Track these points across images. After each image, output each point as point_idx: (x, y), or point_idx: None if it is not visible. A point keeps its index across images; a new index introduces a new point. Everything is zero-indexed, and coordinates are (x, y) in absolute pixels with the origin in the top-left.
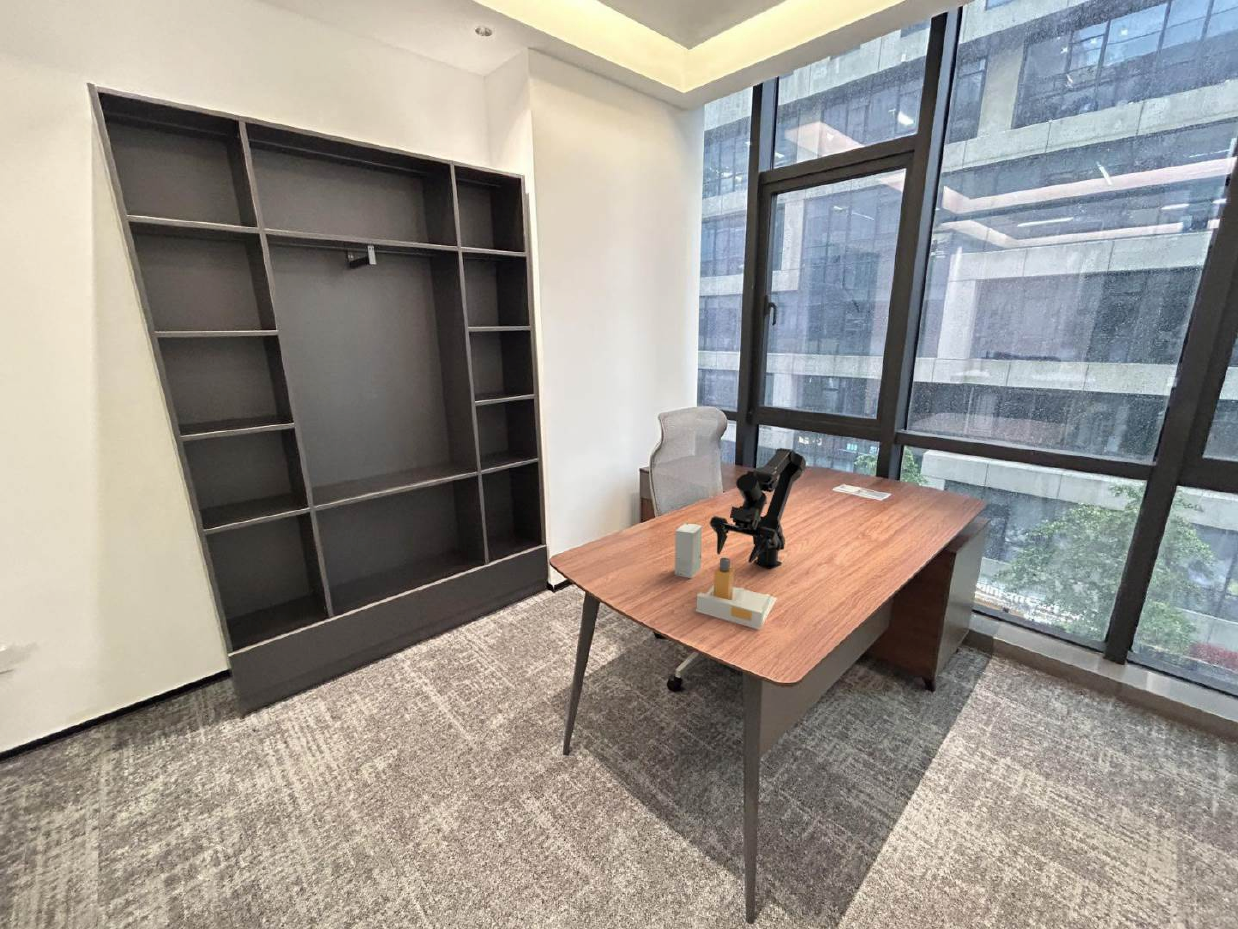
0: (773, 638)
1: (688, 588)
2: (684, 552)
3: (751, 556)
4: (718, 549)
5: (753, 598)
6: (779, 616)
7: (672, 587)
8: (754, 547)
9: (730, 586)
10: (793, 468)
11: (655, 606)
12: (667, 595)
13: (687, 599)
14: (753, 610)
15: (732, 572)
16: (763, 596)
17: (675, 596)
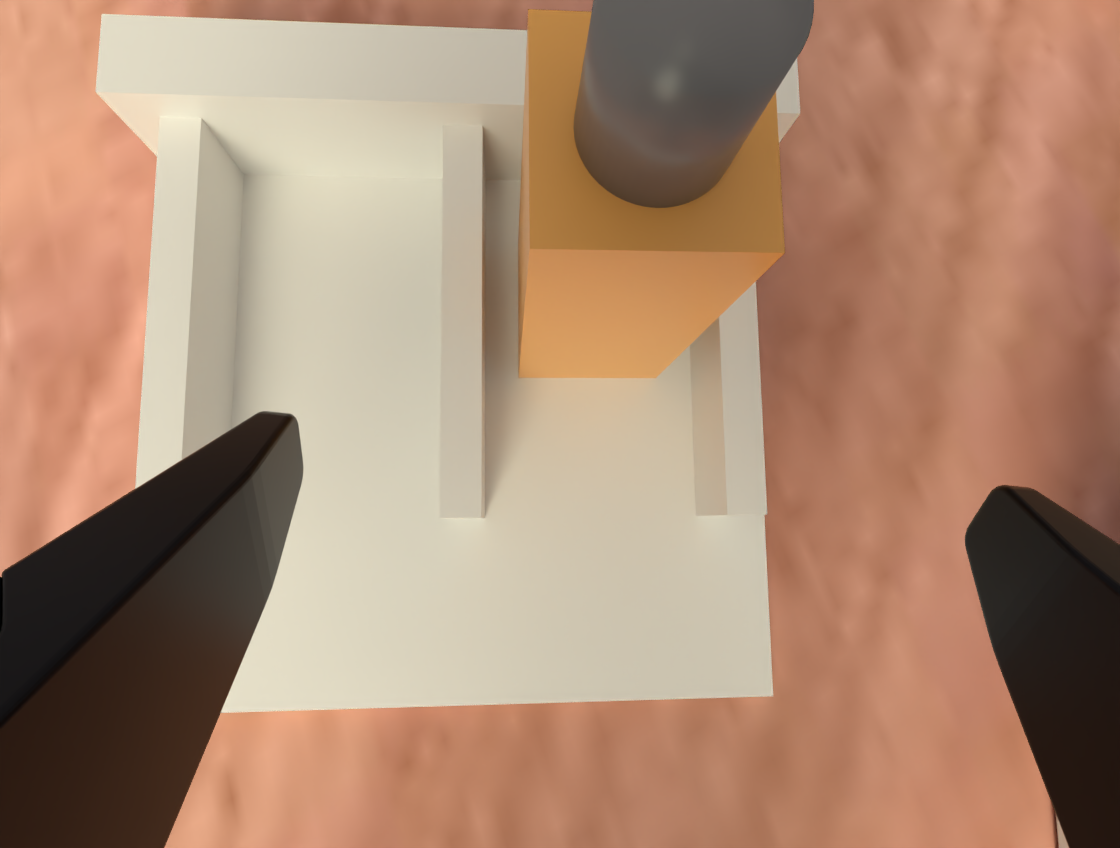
0: (61, 52)
1: (972, 464)
2: None
3: (204, 469)
4: (1065, 527)
5: (361, 568)
6: (74, 406)
7: (1096, 405)
8: (30, 645)
9: (522, 212)
10: None
11: (1041, 50)
12: (1057, 252)
13: (886, 274)
14: (191, 23)
15: (528, 181)
16: (279, 663)
17: (994, 270)
